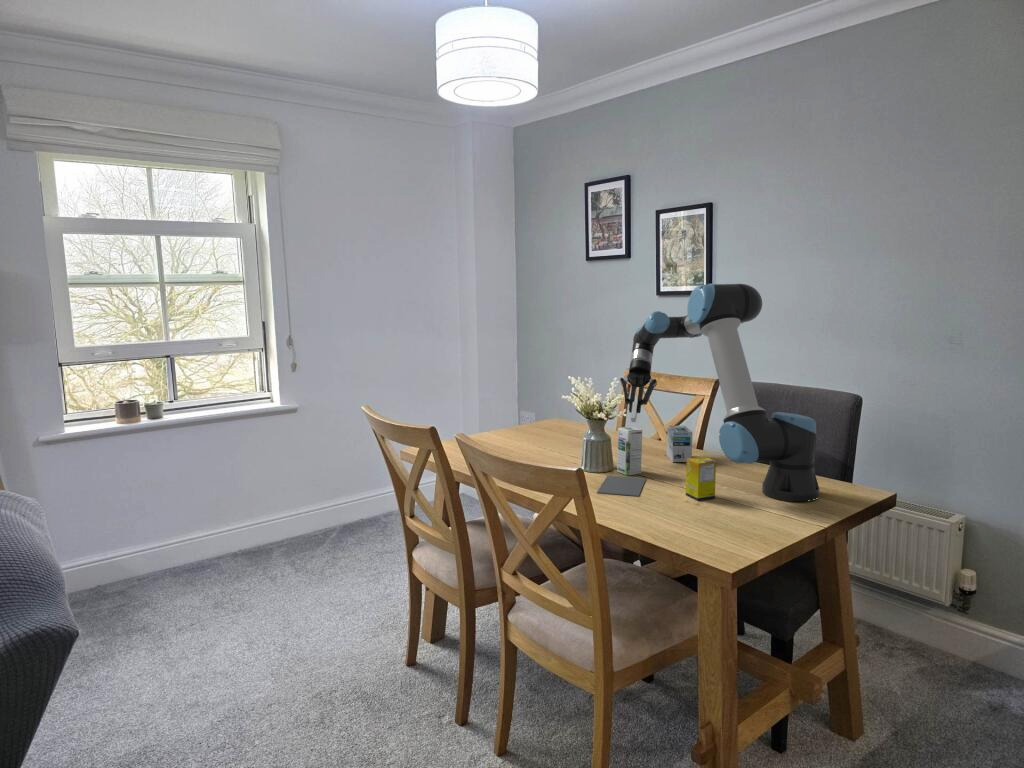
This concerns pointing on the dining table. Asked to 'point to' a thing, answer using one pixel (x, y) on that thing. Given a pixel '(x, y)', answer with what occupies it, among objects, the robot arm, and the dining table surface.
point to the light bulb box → (679, 443)
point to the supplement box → (700, 478)
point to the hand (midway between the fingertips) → (633, 419)
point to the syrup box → (629, 450)
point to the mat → (622, 486)
